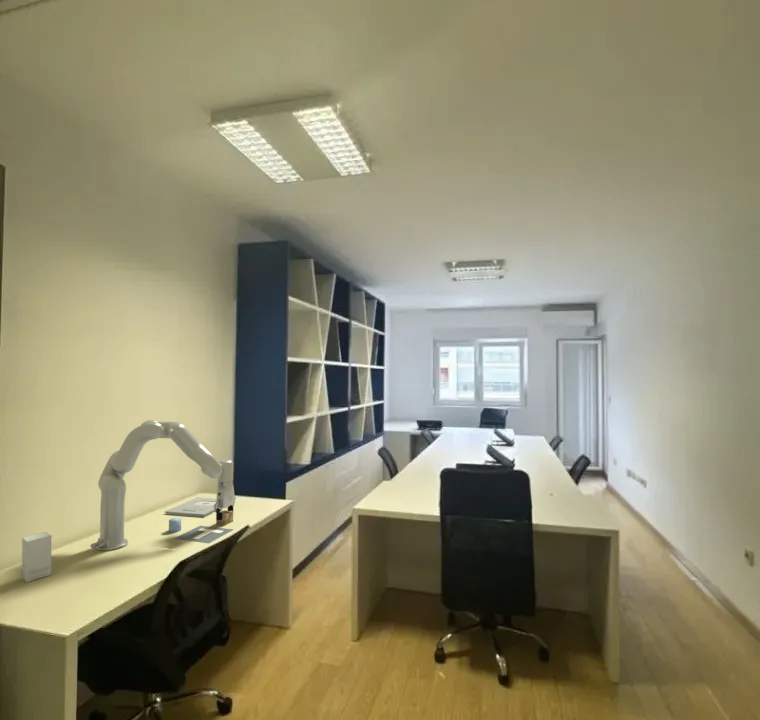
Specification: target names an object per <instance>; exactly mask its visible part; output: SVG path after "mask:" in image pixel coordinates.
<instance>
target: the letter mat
mask: <svg viewBox="0 0 760 720" xmlns="http://www.w3.org/2000/svg"><path fill="white" fill-rule="evenodd" d="M234 530H235V529H232V528H224V527H215V526H208V525H198V526H196V527H194V528H193V529H190V530H188V531H185V532H184V533H181V534H179V535H178V536H175V537H174V538H172V540H180V541H186V542H194V543H203V544H211V543H212V542H214V541H216V540H217V539H218V540H219V539H220V538H221V537H224V536H225V535H227V534H229V533H230V532H232V531H234Z"/></svg>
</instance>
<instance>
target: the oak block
mask: <svg viewBox="0 0 760 720" xmlns="http://www.w3.org/2000/svg"><path fill="white" fill-rule="evenodd" d="M215 522H216V525H224V526H226V525H227V526H228V525H229V524H231V523H233V522H234V510H233V511H228V510H224V509H222V520H216V519H215Z"/></svg>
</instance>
